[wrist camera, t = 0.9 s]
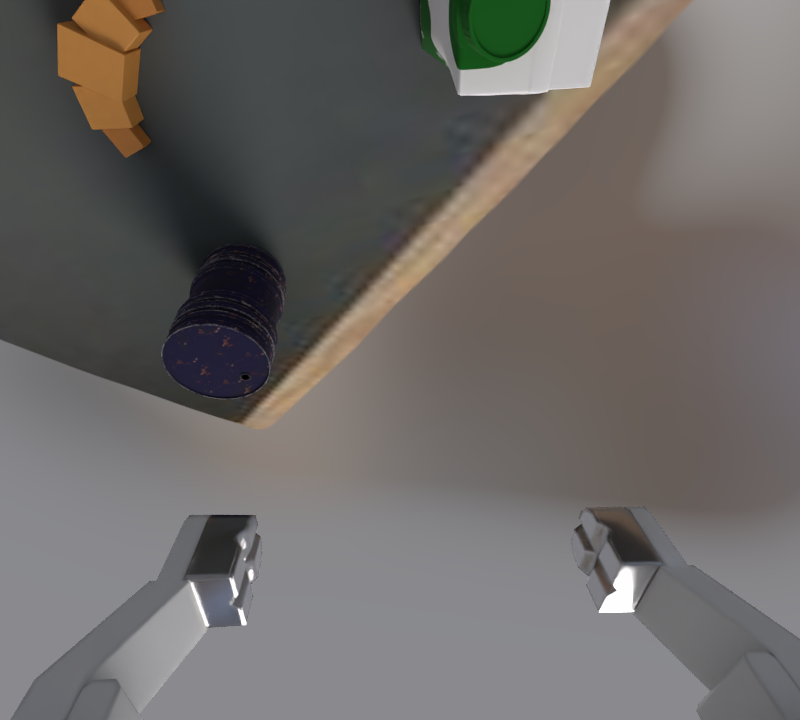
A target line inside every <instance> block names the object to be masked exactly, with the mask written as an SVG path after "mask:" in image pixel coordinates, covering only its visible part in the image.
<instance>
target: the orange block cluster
mask: <svg viewBox="0 0 800 720" xmlns="http://www.w3.org/2000/svg"><path fill="white" fill-rule="evenodd" d="M164 11H165V9H164V6H163V4H162V2H161V0H84V1H83V3H82V4H81V6H80V7H79V8H78V10H77V11H76V12H75V14H74V15H73V17H72V19H73V20H74V21H68V22H62V23H57V43H58V75H59V76H61V77H63V78H65V79H67V80H70V81H72V82H74V83H76V84H77V85H74V86H72V88H73V90H74V92H75V94H76V96H77V98H78V101H79V103H80V105H81V107H82V109H83V111H84V113H85V115H86V117H87V120H88V122H89V124H90V126H91V128H92V129H93V130H98V129H102V131H103V132H104V133H105V134H106V135H107V136H108V138H109V139H110V140H111V141H112V142H113V144H114V145H115V146H116V147H117V148H118V149H119V151H120V152H121V153H122V154H123V155H124V156H125V157H126V158H127V157H129V156H130V155H132V154H134V153H136V152H137V151H139V150H141V149H143V148H144V147H145V146H147V145H148V144H149V143H150V142H151V140H150V139H149V137H148V136H147V135H146V133H145V132H144V131H143V130H142V128H141V127H140V126H139V125H138V123H139V122H141V121H142V120H144V117H143V115H142V112H141V109H140V107H139V104H138V102H137V99H136V97H135V95H136V94H137V89H138V77H139V64H140V52H141V49H139V48H138V47H139V46H140V45H141V43H142V42H143V41H144V40H145V39H146V37H147V36H148V35H149V34H150V32H151V31H152V30H153V29H152V28H151V27H150V26H149V24H148V23H147V22H146V21H145V20H144V19H143V18H146V17H149V16H152V15H155V14H158V13H161V12H164Z"/></svg>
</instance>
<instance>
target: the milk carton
mask: <svg viewBox="0 0 800 720" xmlns="http://www.w3.org/2000/svg"><path fill="white" fill-rule="evenodd" d="M609 4H610V0H420V25H421V38H422V49H424V50H425V51H427V52H428V53H429V54H431V55H432V56H433V57H435V58H436V59H438V60H439V61H440V62H442V63H443V64H445V65H446V66H447V67H448V68H449V69H450V72H451V75H452V78H453V81H454V84H455V87H456V90H457V93H458V94H459V95H461V96H465V95H474V96H487V95H507V94H537V93H543V92H548V90H551V89H567V88H583V87H590V85H591V81H592V77H593V73H594V68H595V64H596V60H597V55H598V51H599V47H600V43H601V38H602V34H603V30H604V25H605V21H606V17H607V12H608V8H609Z"/></svg>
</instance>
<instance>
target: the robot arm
mask: <svg viewBox="0 0 800 720" xmlns="http://www.w3.org/2000/svg"><path fill="white" fill-rule="evenodd" d="M579 519H580V521H581V523H582V524H581V525H580V526H578V527H577V528H576V529H574V532H573V535H572V551H573V554H574V558H575V561H576V563H577V565H578V568H579V569H581V570H582V571H583V572H584V573H585V574H586V575H588V576H589V577H588V581H587V588H588V590H589V592H590V594H591V596H592V599H593V600H594V603H595V605H596V607H597V609H598V612H634V613H633V615H634V616H635V617H636V618H637V619H639V621H641V623H642V624H643V625H645V626H646V628H647V629H649V630H650V631H651V632H652V633H653V634H654V635H655V636H656V637H657V638H658V639H659V640H660V641H661V642H662V643H663V644H664V645H665V646H666V647H667V648H668V649H669V650H670V651H671V652H672V653H673V654H674V655H675V656H676V657H677V658H678V659H679V660H680V661H681V662H682V663H683V664H684V665H685V666H686V667H687V668H688V669H689V670H690V671H691V672H692V673H693V674H694V675H695V676H696V677H697V678H698V679H699V680H700V681H701V682H702V683H703V684H704V685H705V686H706V687H707V688H708V689H709V690H710V692H709V693H708V694H707V695H706V696H705V697H704V699H703V700H702V701H701V702H700V703H699V704H698V708H697V713H698V715H699V717H700V719H701V720H800V639H799V638H798V637H797V636H795V635H794V634H792V633H791V632H789V631H788V630H786V629H785V628H783V627H782V626H781V625H779V624H778V623H776V622H775V621H773V620H772V619H770V618H769V617H768V616H766V615H765V614H763V613H762V612H760V611H759V610H757V609H756V608H755V607H753V606H752V605H750V604H749V603H747V602H746V601H745V600H743V599H742V598H740V597H739V596H737V595H736V594H734V593H733V592H732V591H730V590H729V589H727V588H725V587H724V586H723V585H721V584H720V583H719V582H717V581H716V580H714V579H713V578H711V577H710V576H708V575H707V574H706V573H704V572H702V571H701V570H700V569H698V568H697V567H695V566H693V565H687V564H686V562H685V561H684V559H683V558H682V556H681V555H680V553H679V552H678V551H677V549H676V548H675V546H674V545H673V544H672V542H671V541H670V539H669V538H668V536H667V535H666V534H665V532H664V531H663V530H662V528H661V526H660V525H659V524H658V522H657V521H656V519H655V518H654V516H653V515H652V514H651V512H650V511H649V510H648V509H647V508H645V507H598V508H597V507H596V508H585V509H584V510H582V511H581V514H580V516H579ZM257 526H258V523H257V519H256V515H190V516H189V517H188V518H187V519H186V520H185V521H184V523H183V525H182V527H181V529H180V531H179V534H178V536H177V538H176V540H175V542H174V544H173V547H172V549H171V551H170V553H169V555H168V557H167V559H166V561H165V564H164V566H163V568H162V570H161V572H160V574H159V576H158V579H157V581H149V582H148V583H147V584H146V585H145V586H144V587H142V588H141V589H140V590H139V591H138V592H136V593H135V594H134V595H133V596H132V597H131V598H129V599H128V600H127V601H126V602H125V603H124V604H122V605H121V606H120V607H119V608H118V609H117V610H116V611H114V612H113V613H112V614H111V615H110V616H108V617H107V618H106V619H105V620H104V621H103V622H101V624H99V625H98V626H97V627H96V628H94V629H93V630H92V631H91V632H90V633H89V634H87V635H86V636H85V637H84V638H83V639H82V640H80V641H79V642H78V643H77V644H76V645H75V646H73V647H72V648H71V649H70V650H69V651H68V652H66V653H65V654H64V655H63V656H62V657H61V658H59V659H58V660H57V661H56V662H55V663H54V664H53V665H51V666H50V667H49V668H48V669H47V670H45V671H44V672H43V673H42V674H41V675H40V676H38V677H37V678H36V679H35V680H34V682H33V683H32V685H31V687H30V688H29V690H28V692H27V693H26V695H25V697H24V698H23V700H22V701H21V703H20V705H19V707H18V708H17V710H16V711H15V713H14V715H13V717H12V718H11V720H143V719H142V718H141V716H140V715H139V713H140V712H141V711H142V710H143V709H144V707H145V706H146V705H147V704H148V702H149V701H150V700H151V699H152V698H153V696H154V695H155V694H156V693H157V691H158V690H159V689H160V688H161V686H162V685H163V684H164V683H165V682H166V680H167V679H168V678H169V677H170V675H171V674H172V673H173V672H174V671H175V669H176V668H177V667H178V666H179V664H180V663H181V662H182V661H183V659H184V658H185V657H186V656H187V654H188V653H189V652H190V651H191V650H192V648H193V647H194V646H195V645H196V643H197V642H198V641H199V640H200V639H201V637H202V636H203V635H204V634H205V632H206V631H207V628H211V627H226V626H241V625H246V622H247V618H248V614H249V610H250V606H251V602H252V598H253V593H252V589H251V584H252V583H253V582H254V581H255V580H256V579H257V577H258V574H259V569H260V565H261V557H262V542H261V537H260V536H259V535H258V534H257V533H256V530H257Z"/></svg>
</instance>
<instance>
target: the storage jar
mask: <svg viewBox="0 0 800 720" xmlns="http://www.w3.org/2000/svg"><path fill="white" fill-rule="evenodd" d="M285 291H286V278H285V274H284V272H283V270H282V268H281V266H280V265H279V264H278V262H277V261H276V260H275V259H274V258H273V257H272V256H271V255H269V254H268V253H266V252H265V251H263V250H261V249H259V248H257V247H254V246H251V245H247V244H239V243H238V244H227V245H223V246H221V247H218V248H217V249H215V250H213V251H212V252H211V253H210V254H209V255H208V256H207V258H206V260H205V262H204V264H203V265H202V267H201V268H200V269H199V271H198V273H197V275H196V277H195V278H194V280H193V282H192V284H191V289H190V298H189V299H188V300H187V301H186V302H185V303H184V304H183V305H182V306H181V308H180V309H179V311H178V313H177V315H176V317H175V319H174V321H173V323H172V325H171V327H170V331H169V335H168V337H167V339H166V341H165V343H164V345H163V347H162V352H161V358H162V362H163V365H164V367H165V369H166V371H167V372H168V374H169V375H170V376H171V377H172V378H173V379H174V380H175V381H176V382H177V383H178V384H180V385H181V386H182V387H184V388H186V389H187V390H189V391H192V392H194V393H196V394H199V395H202V396H205V397H210V398H216V399H236V398H242V397H245V396H249V395H251V394H253V393H255V392H256V391H258V390H260V389H261V388H262V387H263V386H264V385H265V383H266V382H267V380H268V378H269V375H270V369H271V364H272V361H273V359H274V354H275V349H276V345H277V340H278V339H277V328H276V327H277V325H278V323H279V321H280V319H281V317H282V314H283V307H284V302H285Z"/></svg>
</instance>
